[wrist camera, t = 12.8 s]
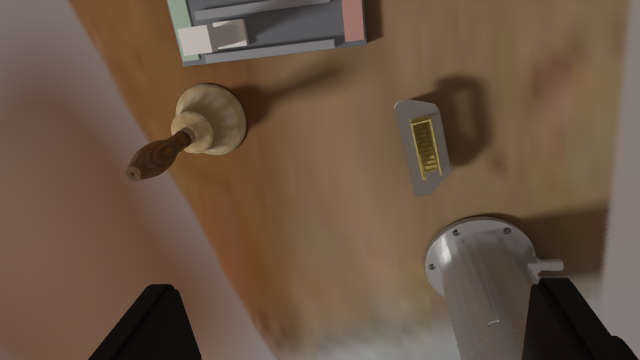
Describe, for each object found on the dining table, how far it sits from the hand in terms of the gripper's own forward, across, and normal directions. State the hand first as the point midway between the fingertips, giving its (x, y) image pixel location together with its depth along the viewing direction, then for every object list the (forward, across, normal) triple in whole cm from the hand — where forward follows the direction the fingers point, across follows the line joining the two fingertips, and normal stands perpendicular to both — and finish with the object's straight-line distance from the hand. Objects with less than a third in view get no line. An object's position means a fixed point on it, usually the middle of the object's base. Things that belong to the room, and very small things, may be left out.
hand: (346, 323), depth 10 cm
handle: (+31, +12, -7) cm, 34 cm away
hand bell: (+33, +18, +2) cm, 37 cm away
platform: (+33, -5, +5) cm, 34 cm away
